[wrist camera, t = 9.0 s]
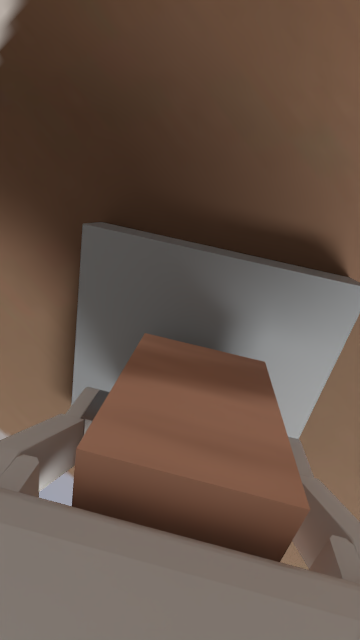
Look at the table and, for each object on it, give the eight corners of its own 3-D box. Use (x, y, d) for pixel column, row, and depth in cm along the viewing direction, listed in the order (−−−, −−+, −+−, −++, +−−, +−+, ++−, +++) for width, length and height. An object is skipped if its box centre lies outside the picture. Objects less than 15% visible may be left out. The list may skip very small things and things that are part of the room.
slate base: (101, 221, 13) (82, 223, 12) (349, 277, 13) (371, 288, 11) (84, 414, 18) (69, 437, 16) (267, 460, 18) (273, 490, 16)
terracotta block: (144, 333, 11) (76, 448, 6) (264, 361, 11) (310, 509, 6) (129, 425, 13) (66, 577, 8) (231, 451, 13) (241, 626, 8)
